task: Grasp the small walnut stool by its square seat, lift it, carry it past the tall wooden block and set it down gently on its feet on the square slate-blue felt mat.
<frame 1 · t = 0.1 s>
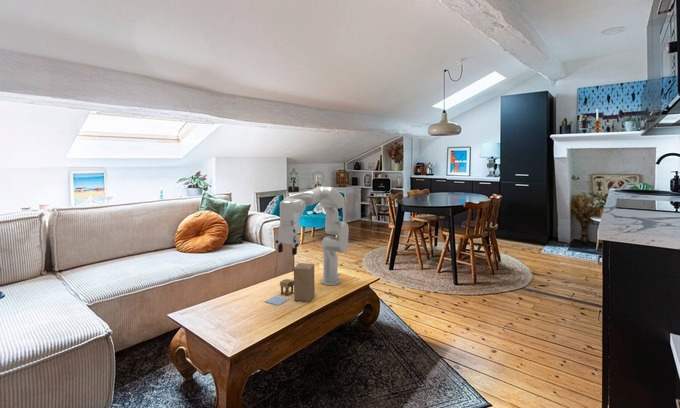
hand: (287, 253, 192), 31 cm above the table, fingers open, 9 cm apart
wooden block: (304, 298, 209), on the table
mat: (276, 300, 204), on the table
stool: (287, 293, 215), on the table
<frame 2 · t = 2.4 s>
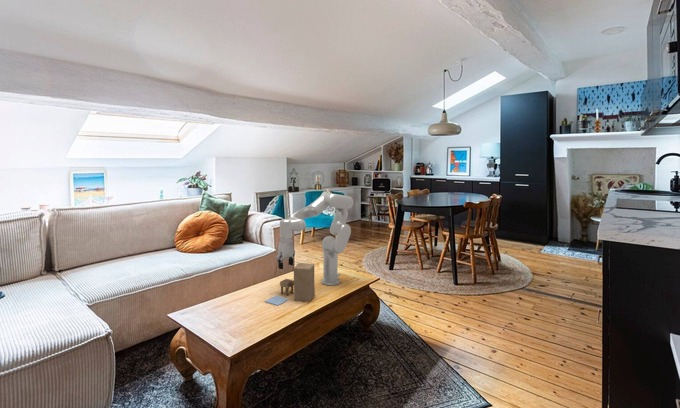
hand: (285, 266, 212), 17 cm above the table, fingers open, 9 cm apart
nothing on the table moved.
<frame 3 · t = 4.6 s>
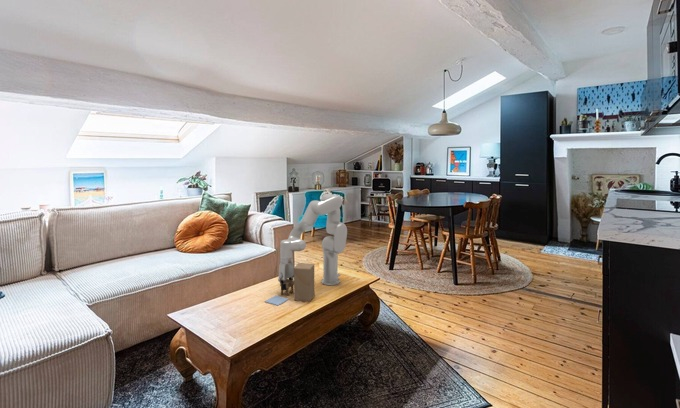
hand: (287, 287, 215), 4 cm above the table, fingers closed on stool, 6 cm apart
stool: (287, 293, 215), on the table, touching gripper
everything else where it was.
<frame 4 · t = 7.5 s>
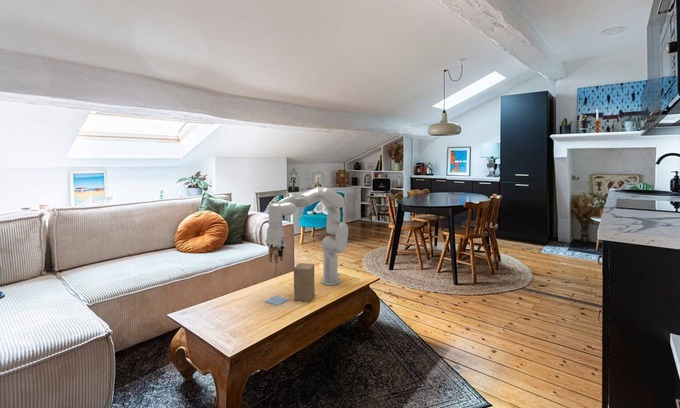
hand: (276, 255, 200), 28 cm above the table, fingers closed on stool, 6 cm apart
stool: (276, 261, 201), point 24 cm above the table, touching gripper
everything else where it was.
when the fingers open (6 cm above the table, at t = 10.6 s): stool drops 1 cm, resting on mat.
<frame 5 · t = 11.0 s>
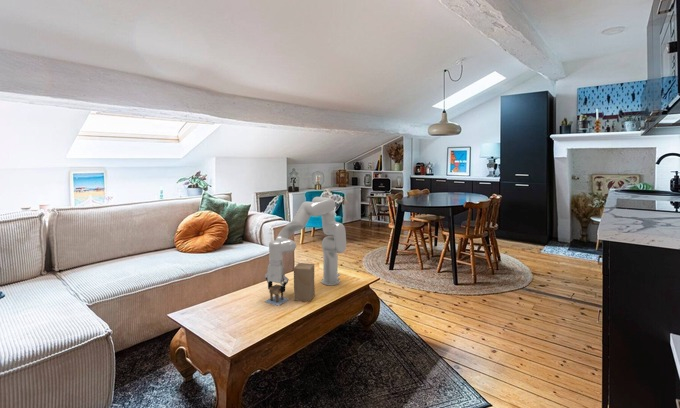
hand: (276, 290, 203), 6 cm above the table, fingers open, 9 cm apart
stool: (277, 299, 204), point 1 cm above the table, touching mat
everything else where it was.
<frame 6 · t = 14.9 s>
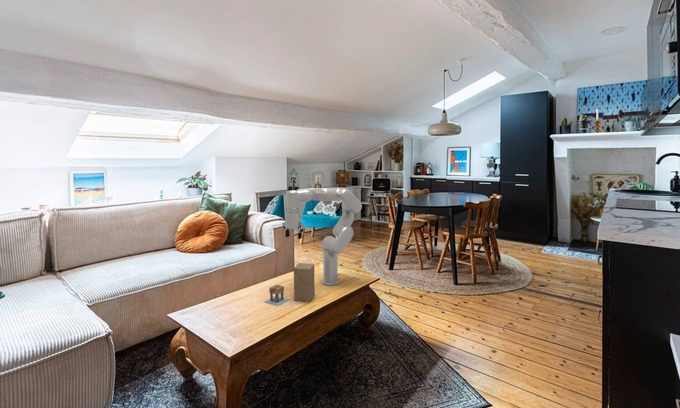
hand: (293, 237, 215), 34 cm above the table, fingers open, 9 cm apart
nothing on the table moved.
at the end: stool 0.1 cm from the mat (horizontally); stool tilted 0°; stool point 0.6 cm above the table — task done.
